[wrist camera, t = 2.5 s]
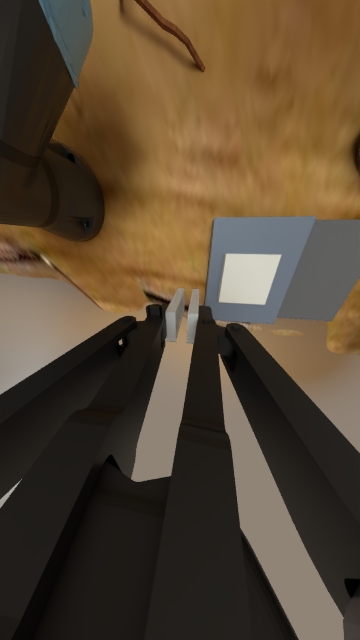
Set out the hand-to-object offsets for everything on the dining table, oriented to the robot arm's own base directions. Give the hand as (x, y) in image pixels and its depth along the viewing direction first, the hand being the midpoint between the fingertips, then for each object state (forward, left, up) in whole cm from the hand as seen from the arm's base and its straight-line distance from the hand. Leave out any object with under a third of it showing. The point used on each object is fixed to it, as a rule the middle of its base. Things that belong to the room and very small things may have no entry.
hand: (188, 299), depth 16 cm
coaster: (+10, 0, -14) cm, 18 cm away
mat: (+27, 0, -18) cm, 32 cm away
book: (+11, 0, -18) cm, 21 cm away
